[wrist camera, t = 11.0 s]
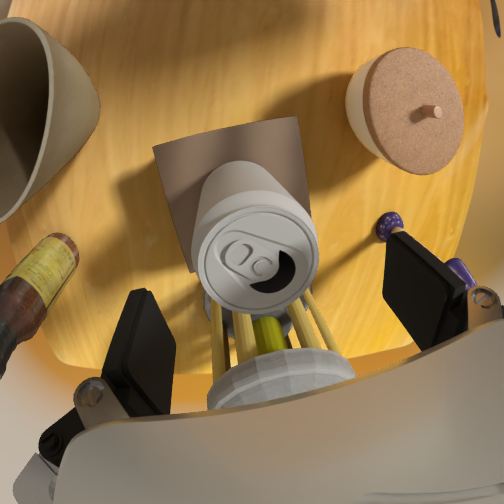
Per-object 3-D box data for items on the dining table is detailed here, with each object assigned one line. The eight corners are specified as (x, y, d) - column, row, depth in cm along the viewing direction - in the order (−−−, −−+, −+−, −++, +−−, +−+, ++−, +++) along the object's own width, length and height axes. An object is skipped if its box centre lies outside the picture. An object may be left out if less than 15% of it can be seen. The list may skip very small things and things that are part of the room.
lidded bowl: (427, 129, 29) (489, 143, 19) (362, 178, 31) (418, 207, 21) (383, 45, 23) (443, 29, 14) (306, 88, 26) (352, 75, 16)
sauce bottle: (45, 224, 28) (-51, 319, 11) (84, 239, 30) (-2, 352, 12) (43, 266, 31) (-31, 368, 13) (79, 281, 32) (15, 397, 15)
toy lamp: (406, 229, 35) (486, 294, 20) (383, 250, 36) (457, 325, 21) (392, 205, 33) (482, 266, 18) (368, 227, 34) (450, 301, 19)
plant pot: (149, 56, 22) (89, 5, 8) (114, 186, 28) (40, 249, 14) (42, 51, 18) (-46, 35, 4) (18, 166, 24) (-69, 209, 10)
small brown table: (278, 116, 27) (297, 116, 21) (295, 219, 32) (314, 245, 26) (166, 140, 27) (152, 147, 20) (194, 242, 32) (189, 273, 26)
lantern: (310, 239, 34) (427, 414, 12) (307, 326, 40) (368, 479, 18) (193, 253, 33) (178, 470, 11) (212, 339, 39) (222, 509, 17)
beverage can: (245, 244, 25) (269, 338, 15) (185, 204, 23) (163, 282, 12) (291, 189, 24) (353, 252, 13) (231, 143, 21) (248, 167, 11)
